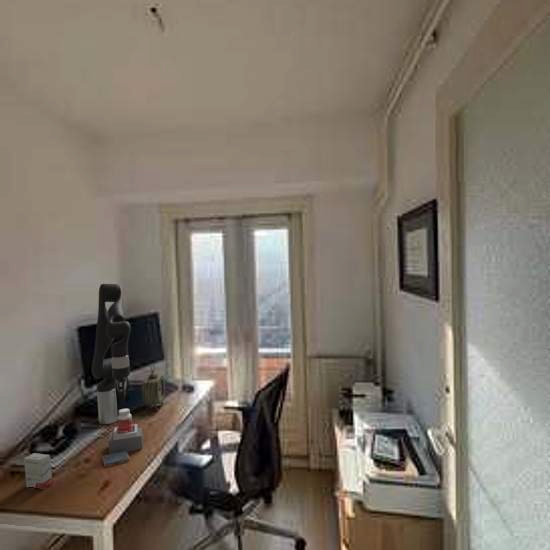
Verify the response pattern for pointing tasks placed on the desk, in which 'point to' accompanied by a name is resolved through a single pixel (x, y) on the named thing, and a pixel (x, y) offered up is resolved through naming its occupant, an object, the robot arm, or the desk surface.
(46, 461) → the ink box
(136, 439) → the display riser
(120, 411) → the pill bottle
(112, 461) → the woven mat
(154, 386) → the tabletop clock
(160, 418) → the desk surface
